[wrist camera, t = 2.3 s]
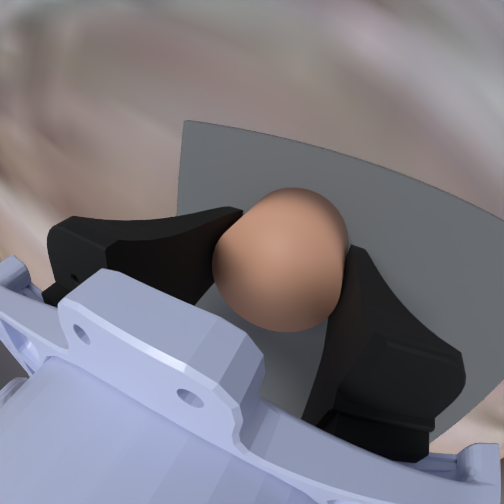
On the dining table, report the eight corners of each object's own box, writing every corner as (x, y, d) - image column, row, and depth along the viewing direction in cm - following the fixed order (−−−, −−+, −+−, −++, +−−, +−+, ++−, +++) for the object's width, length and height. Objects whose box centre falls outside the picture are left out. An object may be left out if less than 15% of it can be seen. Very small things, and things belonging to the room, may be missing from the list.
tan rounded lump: (241, 263, 14) (207, 306, 11) (256, 175, 12) (218, 199, 9) (329, 294, 13) (317, 347, 10) (361, 206, 11) (361, 244, 8)
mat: (181, 384, 23) (179, 387, 23) (188, 120, 12) (183, 121, 12) (407, 454, 18) (407, 458, 18) (576, 267, 7) (579, 271, 7)
